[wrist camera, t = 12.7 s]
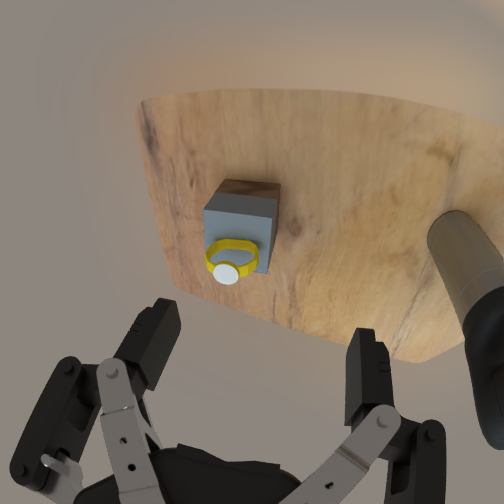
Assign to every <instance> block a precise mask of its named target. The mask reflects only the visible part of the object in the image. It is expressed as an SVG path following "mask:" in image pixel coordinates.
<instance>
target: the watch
mask: <svg viewBox="0 0 504 504" xmlns="http://www.w3.org/2000/svg"><path fill="white" fill-rule="evenodd" d="M225 249H237V250H247V251H249V252H251V253H252V254H253V255H254V258H253V259H252V260H251V261H249V262H248V263H246V264H244V265H240V266H237V265H235V264H234V263H232V262H230V261H220V262H218V263H217V264H215V263H213V262H212V261H210V259H211V257H212V256H213V255H214V254H216V253H217V252H218V251H221V250H225ZM205 261H206V266H207V268H208V270H209V271H210V272H211V273H213V275H214V277H215V279H216V280H217V281H219V282H220V283H222V284H227V285H228V284H234V283H235V282H236V281H237V280H238V278H239V277H243V276H246V275H248V274H250V273H251V272H253V271H254V270H256V268H257V266H258V264H259V250H258V247H257V246H256V245H255V244H254V243H252V242H251V241H249V240H238V239H227V238H225V239H222V240H218V241H216V242H214V243H213V244H212V245H210V246H209V247H208V248H207V250H206V252H205Z"/></svg>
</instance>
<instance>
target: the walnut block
mask: <svg viewBox="0 0 504 504" xmlns="http://www.w3.org/2000/svg"><path fill="white" fill-rule="evenodd" d="M216 192H220V193H229V194H238V195H247V196H255V197H263V198H271V199H278V200H277V210H276V221H275V231H274V241H273V248H274V244H275V239H276V235H277V226H278V212H279V198H280V184H273V183H263V182H252V181H240V180H227V179H225V180H224V181H223V182H222V184H221V185H220V186H219V188H218V189H217V190H216ZM214 194H215V193H214Z"/></svg>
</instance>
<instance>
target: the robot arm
mask: <svg viewBox="0 0 504 504" xmlns="http://www.w3.org/2000/svg"><path fill="white" fill-rule="evenodd" d="M427 244H428V248H429V250H430V253H431V255H432V257H433V259H434V261H435V264H436V266H437V268H438V270H439V273H440V275H441V277H442V279H443V282H444V284H445V287H446V289H447V291H448V294H449V296H450V299H451V301H452V304H453V306H454V309H455V312H456V314H457V317H458V320H459V322H460V325H461V328H462V331H463V334H464V337H465V353H466V358H467V362H468V366H469V371H470V376H471V382H472V387H473V394H474V400H475V406H476V412H477V416H478V420H479V424H480V427H481V430H482V433H483V435H484V437H485V439H486V440H487V442H488V443H489V445H491V446H492V447H493V448H495V449H497V450H504V262H503V257H502V256H501V254H500V253H499V251H498V250H497V248H496V247H495V246H494V244H493V243H492V241H491V240H490V239H489V237H488V236H487V235H486V233H485V232H484V231H483V229H482V228H481V227H480V226H479V224H476V223H475V222H474V221H473V219H472V218H471V217H470V216H469V215H468V214H466V213H464V212H461V211H452V212H448V213H446V214H444V215H442V216H441V217H440V218H438V219H437V220H436V221H435V222H434V224H433V225H432V227H431V229H430V231H429V234H428V239H427ZM180 330H181V321H180V317H179V312H178V308H177V304H176V301H174V300H169V299H164V298H158V299H157V301H156V302H155V304H154V306H153V307H152V308H151V307H147V308H145V309H144V310H143V311H142V312H141V313H139V314H138V316H137V318H136V320H135V321H134V324H132V326H131V328H130V331H128V333H127V334H126V336H125V338H124V340H123V342H122V343H121V345H120V347H119V348H118V350H117V352H116V353H115V355H114V356H113V358H110V359H106V360H104V361H103V362H102V363H100V364H99V365H94V364H81V362H80V361H79V360H78V359H77V358H76V357H72V356H69V357H65V358H63V359H62V360H60V362H59V363H58V364H57V366H56V368H55V369H54V371H53V373H52V375H51V377H50V379H49V380H48V382H47V384H46V386H45V388H44V390H43V392H42V394H41V396H40V398H39V400H38V402H37V404H36V406H35V408H34V410H33V412H32V414H31V416H30V418H29V420H28V422H27V424H26V427H25V429H24V431H23V433H22V436H21V438H20V440H19V443H18V445H17V447H16V450H15V452H14V455H13V457H12V460H11V462H10V474H11V476H12V478H13V480H14V481H15V482H16V483H18V484H19V485H22V486H24V487H26V488H28V489H30V490H32V491H34V492H36V493H39V494H42V495H44V496H45V497H47V498H49V499H50V500H52V501H53V502H55V503H57V504H339V503H340V502H341V501H342V500H343V499H344V498H345V497H346V496H347V495H348V493H350V491H351V490H352V489H353V488H354V487H355V486H356V485H357V484H358V483H359V482H360V480H361V479H362V478H363V477H364V476H365V475H366V473H367V472H368V470H369V467H370V466H371V464H372V463H373V462H374V461H375V459H376V458H377V457H378V458H382V459H385V460H388V461H389V462H388V473H387V483H386V492H385V500H384V504H445V492H446V432H445V429H444V427H443V425H442V424H441V423H440V422H439V421H436V420H432V419H431V420H427V421H424V422H423V423H422V424H421V423H418V422H415V421H411V420H408V419H406V418H404V417H402V416H401V415H400V414H399V413H398V411H397V410H396V409H395V406H394V400H393V387H392V379H391V378H392V377H391V368H390V358H389V351H388V350H387V348H386V346H385V344H384V343H383V342H376V339H375V331H374V329H368V328H356V330H355V333H354V335H353V337H352V340H351V342H350V345H349V347H348V350H347V354H346V396H345V424H344V425H345V426H352V427H351V434H350V435H349V437H348V438H347V439H346V440H345V441H344V442H343V443H342V444H341V445H340V446H339V447H338V448H337V450H335V452H334V453H333V454H332V455H331V456H330V457H329V458H328V459H327V460H326V461H325V462H324V463H323V464H322V465H321V466H320V467H318V468H317V469H316V470H315V471H314V472H313V473H312V474H311V475H310V476H309V477H308V478H307V479H306V480H304V481H303V482H302V483H301V482H300V481H299V480H298V479H297V478H296V477H295V476H293V475H292V474H290V473H288V472H286V471H284V470H281V469H280V464H273V463H265V462H259V461H243V462H227V461H224V460H221V459H219V458H217V457H215V456H213V455H211V454H209V453H207V452H205V451H204V450H201V449H197V448H193V447H190V446H186V445H183V444H179V443H178V445H177V448H165V449H163V447H162V445H161V443H160V440H159V438H158V436H157V434H156V432H155V430H154V427H153V424H152V422H151V419H150V415H149V412H148V409H147V406H146V403H145V399H144V396H143V394H144V392H145V390H146V389H148V390H151V391H154V389H155V387H156V385H157V383H158V380H159V378H160V376H161V374H162V371H163V369H164V367H165V365H166V362H167V360H168V358H169V356H170V354H171V351H172V349H173V347H174V345H175V343H176V340H177V338H178V336H179V333H180ZM101 406H102V409H103V414H102V415H101V416H100V421H101V426H102V431H103V435H104V439H105V443H106V447H107V451H108V455H109V459H110V462H111V465H112V469H113V472H114V474H113V475H111V476H109V477H107V478H105V479H103V480H101V481H99V482H97V483H95V484H93V485H91V486H89V487H87V488H85V489H83V487H82V479H83V475H82V469H81V467H80V465H79V464H78V463H79V460H80V458H81V455H82V452H83V450H84V447H85V444H86V442H87V440H88V437H89V434H90V432H91V429H92V427H93V425H94V422H95V420H96V417H97V415H98V412H99V410H100V408H101Z"/></svg>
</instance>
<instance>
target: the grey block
mask: <svg viewBox="0 0 504 504" xmlns="http://www.w3.org/2000/svg"><path fill="white" fill-rule="evenodd" d="M277 200H278V199H271V198H263V197H255V196H247V195H238V194H229V193H220V192H215V194H214V195H213V196H212V198H211V199H210V201H209V202H208V203H207V205H206V206H205V207H204V209H203V221H204V240H205V252H206V250H207V248H208V247H209V246H210V245H212V244H213V243H214V242H216V241H218V240H222V239H225V238H227V239H238V240H249V241H251V242H252V243H254V244H255V245H256V246H257V247H258V250H259V264H258V266H257V268H256V270H254V271H253V272H257V273H263V274H267V272H268V268H269V264H270V260H271V255H272V251H273V241H274V231H275V221H276V210H277ZM253 258H254V255H253V254H252V253H251V252H249V251H247V250H237V249H225V250H221V251H218V252H217V253H216V254H214V255H213V256H212V257H211V259H210V261H212V262H213V263H215V264H217V263H218V262H220V261H230V262H232V263H234V264H235V265H237V266H240V265H244V264H246V263H248V262H249V261H251V260H252V259H253Z"/></svg>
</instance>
